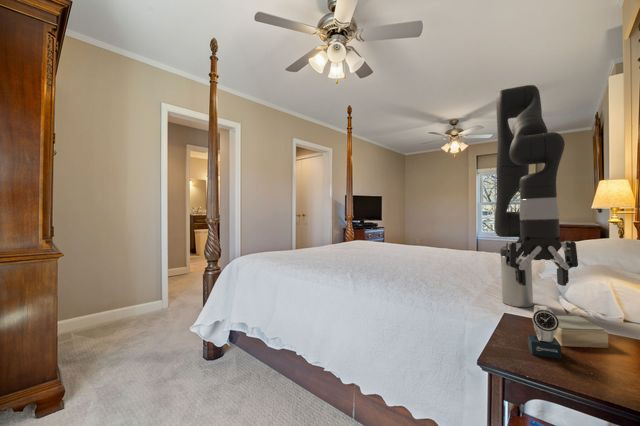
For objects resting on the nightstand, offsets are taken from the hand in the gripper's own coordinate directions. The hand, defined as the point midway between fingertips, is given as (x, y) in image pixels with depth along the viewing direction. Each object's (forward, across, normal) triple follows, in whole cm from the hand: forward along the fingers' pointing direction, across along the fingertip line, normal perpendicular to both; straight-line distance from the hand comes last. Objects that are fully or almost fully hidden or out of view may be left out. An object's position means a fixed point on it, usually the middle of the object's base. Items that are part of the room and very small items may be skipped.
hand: (541, 285), depth 69 cm
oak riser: (+16, -11, -9) cm, 22 cm away
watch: (+16, 0, 0) cm, 17 cm away
